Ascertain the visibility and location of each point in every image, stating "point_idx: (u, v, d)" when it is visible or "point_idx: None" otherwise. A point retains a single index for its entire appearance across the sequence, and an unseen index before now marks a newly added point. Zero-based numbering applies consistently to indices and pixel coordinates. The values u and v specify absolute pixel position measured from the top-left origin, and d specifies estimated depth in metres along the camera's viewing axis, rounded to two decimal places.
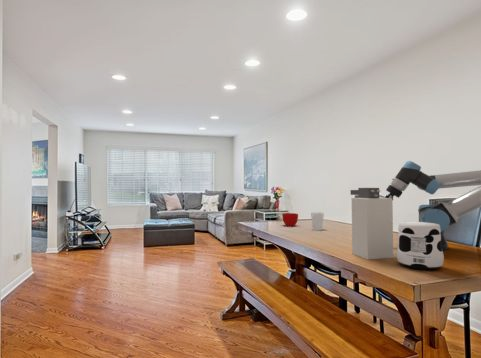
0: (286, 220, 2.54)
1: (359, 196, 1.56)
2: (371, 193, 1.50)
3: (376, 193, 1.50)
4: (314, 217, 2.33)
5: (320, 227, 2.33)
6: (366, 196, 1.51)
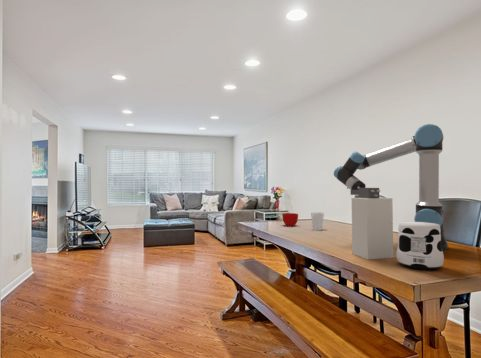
0: (286, 220, 2.54)
1: (359, 196, 1.56)
2: (371, 193, 1.50)
3: (376, 193, 1.50)
4: (314, 217, 2.33)
5: (320, 227, 2.33)
6: (366, 196, 1.51)
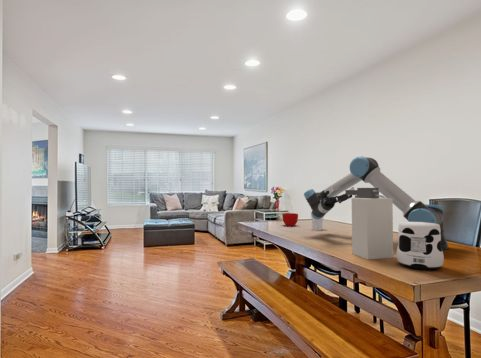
0: (286, 220, 2.54)
1: (358, 196, 1.56)
2: (372, 193, 1.50)
3: (376, 193, 1.52)
4: None
5: (320, 227, 2.33)
6: (367, 196, 1.51)
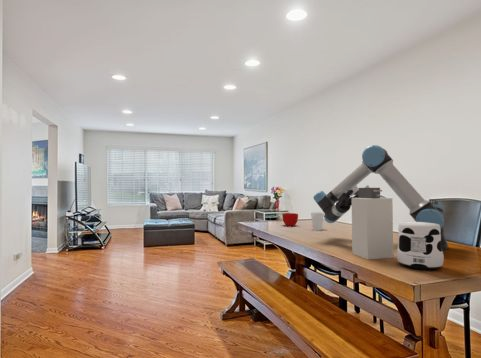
0: (286, 220, 2.54)
1: (359, 196, 1.56)
2: (373, 193, 1.50)
3: (377, 193, 1.51)
4: (314, 217, 2.33)
5: (320, 227, 2.33)
6: (368, 196, 1.51)
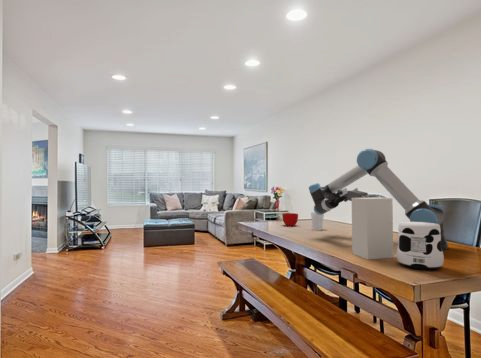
0: (286, 220, 2.54)
1: (348, 198, 1.67)
2: None
3: None
4: (314, 217, 2.33)
5: (320, 227, 2.33)
6: None
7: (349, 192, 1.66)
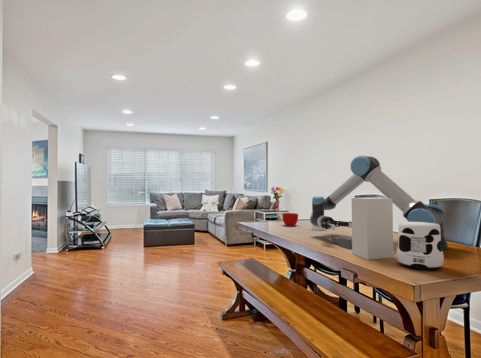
0: (286, 220, 2.54)
1: (340, 245, 1.74)
2: (351, 244, 1.67)
3: None
4: None
5: (320, 227, 2.33)
6: (346, 247, 1.68)
7: (340, 239, 1.73)
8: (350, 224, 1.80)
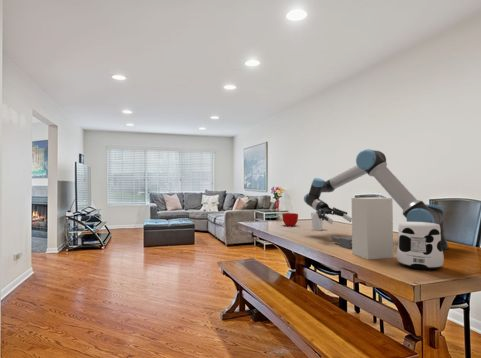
0: (286, 220, 2.54)
1: (340, 245, 1.74)
2: (351, 244, 1.68)
3: None
4: (314, 217, 2.33)
5: (320, 227, 2.33)
6: (347, 247, 1.68)
7: (340, 239, 1.73)
8: (345, 216, 1.88)
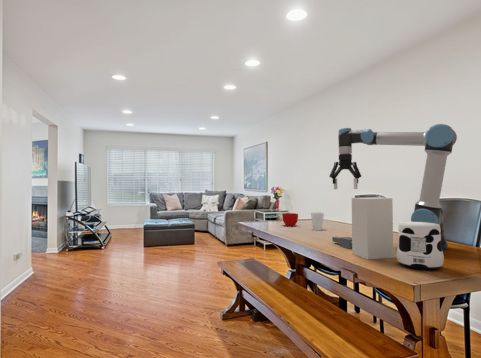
0: (286, 220, 2.54)
1: (340, 245, 1.74)
2: (351, 244, 1.68)
3: None
4: (314, 217, 2.33)
5: (320, 227, 2.33)
6: (347, 247, 1.69)
7: (341, 239, 1.74)
8: (355, 181, 1.88)
